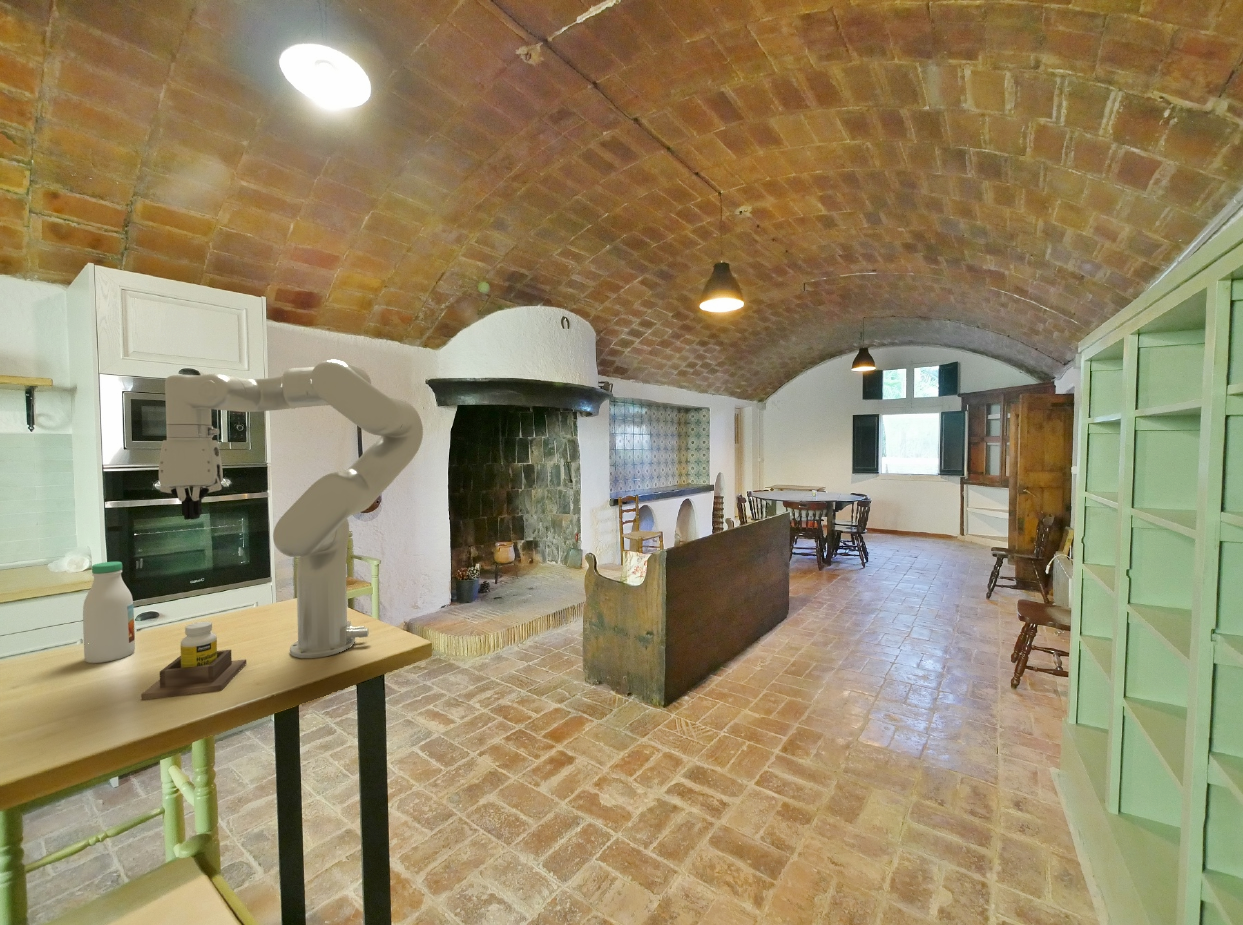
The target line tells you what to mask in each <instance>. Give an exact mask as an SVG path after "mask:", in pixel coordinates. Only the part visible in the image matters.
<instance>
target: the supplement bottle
mask: <svg viewBox="0 0 1243 925" xmlns="http://www.w3.org/2000/svg"><path fill="white" fill-rule="evenodd" d="M212 631H213V622H212V621H208V620H207V621H197V622H193V623H189V624H187V625H185V627H184V633H185V635H186V636H185V637H183V638H182V639H181V640H180V656H181V668H185V667H195V666H204V665H210V664H212V663H213V662H214V661H215V660H216V659H217V651H218V641H217V638H218V637H217V635H216V633H214V632H212Z"/></svg>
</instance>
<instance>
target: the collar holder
mask: <svg viewBox="0 0 1243 925" xmlns="http://www.w3.org/2000/svg"><path fill="white" fill-rule="evenodd" d="M245 664H246V665H247V659H246V658H245V659H237V660H233V659H232V649H224V650H217V659H216V660H215V661H214V662H213V663H212V664H210V665H204V666H195V667H185V668H181V655H179V656H178V657H176V659H174V660H173V661H171V663H169V664H168V665H166V666H165V667H164V668H162V669H161V670H160V671H159V679H158V681H156V682H155V683H154V684H152V685H151V686H150V687H149V688H147V689H146V690H145V691H144V692H142V693H141V694H140V699H141V701H143V700H152V699H153V700H154V699H160V697H162V698H168V697H175V696H176V697H178V696H187V695H193V694H192V693H195V694H200V693H199V692H204V693H209V692H210V693H212V692H219V690H220V691H223V690H224V689H225V687H226V686H227V685H228V684H229V683H231V681H232V680H233V679H234V678H235V677H236V676H237V675H238V674H239V673H238V672H240V671H242V669H243V668H244V667H245V666H246V665H245ZM243 666H244V667H243ZM241 668H242V669H241ZM239 670H240V671H239ZM237 673H238V674H237ZM236 674H237V675H236ZM235 675H236V676H235ZM233 677H234V678H233Z"/></svg>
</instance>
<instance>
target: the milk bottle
mask: <svg viewBox="0 0 1243 925" xmlns="http://www.w3.org/2000/svg"><path fill="white" fill-rule="evenodd" d="M91 573H92V574H91V575H92V577H93V580H92V584H91V586H90V589H89V591H88V592H87V594H86V595H85V596H86V597H85V599H84V600H83V601H84V602H83V606H82V608H83V609H82V624H83V625H82V626H83V628H82V630H83V631H82V632H83V634H82V635H83V653H84V655H83V656H84V661H85V662H86V663H89V664H100V663H101V664H102V663H107V662H108V663H109V662H113V661H116V660H121V659H123V658H126V657H128V656H130V655H133V654H134V652H135V650H136V639H135V633H136V632H135V615H134V614H135V613H134V612H135V609H134V600H133V595H132V593H131V591H130V589H129V588H128V587H127V585H126V583H125V582H124V580H123V577H122V573H123V562H121V561H105V562H100V563H95V564H93V565H92V566H91ZM88 643H89V644H88Z"/></svg>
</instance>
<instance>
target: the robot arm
mask: <svg viewBox="0 0 1243 925" xmlns="http://www.w3.org/2000/svg"><path fill="white" fill-rule="evenodd" d="M164 383H165V384H164V387H165V388H164V391H165V394H164V396H165V397H164V398H165V418H166V419H165V423H166V427H165V428H166V439H163V440H162V444H161V448H160V454H159V462H158V481H159V484H160V486H159V491H160V492H161V493H167V494H173V496H175V497H176V498H177V499H178V500H179V501H180V502H181V515H182V516H183V519H184V520H185V521H186V520H187V521H188V520H196V519H199V518H200V517H201V515H202V513H203V507H202V506H203V504H202V500H204V499H205V497H206V496H207V495H208V494H210V493H213V492H218V491H220V490H222V489H223V488H222V484H221V483H222V482H223V480H224V479H223V478H224V475H223V473H224V472H223V463H222V457H221V453H220V452H221V450H220V447H219V444H218V440H214V439H213V438H214V436H215V435H217V436H219V435H220V429H219V428H215V427H214V426H213V425H212V410H216V411H217V410H218V411H230V412H242V413H252V412H253V413H255V412H267V411H280V410H281V411H282V410H289V409H292V410H293V409H294V410H295V409H299V408H310V407H321V406H324V407H325V406H330V407H332V408H333V409H335V411H337V412H338V413H340V414H341V415H342V416H344V417H345V418H347V420H349V421H350V422H352V423H353V424H354V425H356V426H357V427H359V428H360V429H361V430H363V431H365V432H366V433H368V434H371V435H375V436H380V437H379V439H378V440H377V441H376V442H375V443H373V444H372V445H371V446H369V447H368V448H367V449H366V450H365V451H364V452H363V453H362V454H361V456H359V458H358V459H357V460H356V461H355V462H354V463H353V464H352V465H351V466H349V467H348V468H346V469H344V470H342V471H334V472H330V473H328V474H325V475H323V476H322V477H320V478H319V479H317V480H315V482H313V483H312V484H311V485H310V487H308V489H307V490H306V491H305V492H303V493H302V494H301V496H300V497H299V498H298V499H297V500H296V501H295V502H294V503H293V504H292V505H291V506H290V507H289V508H288V509H287V510H286V512H284V513H283V515H282V516H281V517H280V518H279V519H278V521H277V522H276V524H275V526H274V529H273V534H272V538H273V543H274V546H275V548H276V549H277V550H278V551H279V552H280V553H282V554H283V555H284V556H287V557H291V558H297V564H296V565H297V566H296V603H297V604H296V607H297V609H296V610H297V611H296V612H297V613H296V614H297V641H295V642H294V643H293V644H291V646H290V647H289V653H290V655H291V656H292V657H294V658H298V659H319V658H325V657H329V656H333V655H337V654H340V653H342V651H343V652H344V650H345V651H347V650H349V649H350V648H351V647H350V646H351V645H353V644H354V642H355V643H356V638H368V637H369V627H365V625H364V626H363V625H362V626H353V625H352V622H351V620H349V621H348V609H347V608H348V606H347V605H348V601H347V599H348V598H347V597H348V595H347V553H348V544H349V538H350V537H349V536H350V524H349V523H350V522H349V520H348V518H349V517H350V516H353V515H357V514H359V513H362V512H364V511H366V510H368V509H369V508H370V507H371V506H372V505H373V504H374V503H375V501H377V499H378V498H379V497H380V496H381V495H382V494H383V492H384V491H385V490H387V488H388V487H389V486H390V485H391V484H392V483H393V482H394V480H395V479H397V477H398V476H399V475H400V474H401V472H403V470H405V468H406V467H407V466H408V465H409V464H410V463H411V461H412V460H413V459H414V458H415V457H416V456H417V453H418V451H419V450H420V449H421V448H420V447H421V444H422V441H423V435H424V428H423V422H422V419H421V417H420V415H419V413H418V412H419V411H417V409H416V408H415V407H414V406H413V404H411V403H410V402H407V401H406V400H404V399H401V398H397V397H393V396H389V395H386V394H385V393H383V392H382V391H381V390H379V389H378V388H376V387H375V386H374V385H373V384H372V381H371V378H370V376H369V375H368V373H367V372H366V371H365V370H364V369H363V368H362V367H360V366H357V365H355V364H351V363H350V362H345V361H343V360H338V359H326V360H323V361H321V362H320V363H317V365H315V366H310V367H309V366H308V367H305V366H304V367H291V368H288V369H286V370H285V371H284V372H283V374H282V376H281V375H280V376H278V377H267V378H266V377H265V378H244V377H243V378H242V377H239V376H232V375H227V374H222V373H221V374H220V373H209V374H202V375H201V374H200V375H192V374H191V375H188V374H187V375H186V374H172V375H169V376H168V377H166V379H165V382H164ZM191 487H193V488H192V493H191V490H190V488H191ZM191 494H192V495H191ZM354 645H355V644H354ZM354 645H353V646H354ZM348 648H349V649H348ZM346 649H347V650H346ZM339 652H340V653H339Z"/></svg>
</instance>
